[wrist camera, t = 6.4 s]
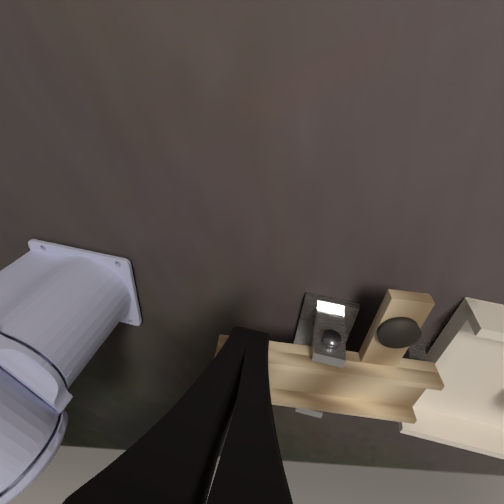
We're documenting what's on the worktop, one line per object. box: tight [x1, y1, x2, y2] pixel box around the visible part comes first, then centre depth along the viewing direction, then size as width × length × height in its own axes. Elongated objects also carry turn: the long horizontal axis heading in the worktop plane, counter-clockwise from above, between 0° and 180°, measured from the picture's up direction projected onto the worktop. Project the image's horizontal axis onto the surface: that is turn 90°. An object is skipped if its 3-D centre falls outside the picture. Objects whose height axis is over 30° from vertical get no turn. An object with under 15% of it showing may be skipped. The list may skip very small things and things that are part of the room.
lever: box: [214, 289, 445, 424], centre depth 20 cm, size 15×11×3 cm
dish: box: [398, 297, 504, 459], centre depth 23 cm, size 10×13×3 cm
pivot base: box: [293, 292, 428, 418], centre depth 23 cm, size 9×8×5 cm
